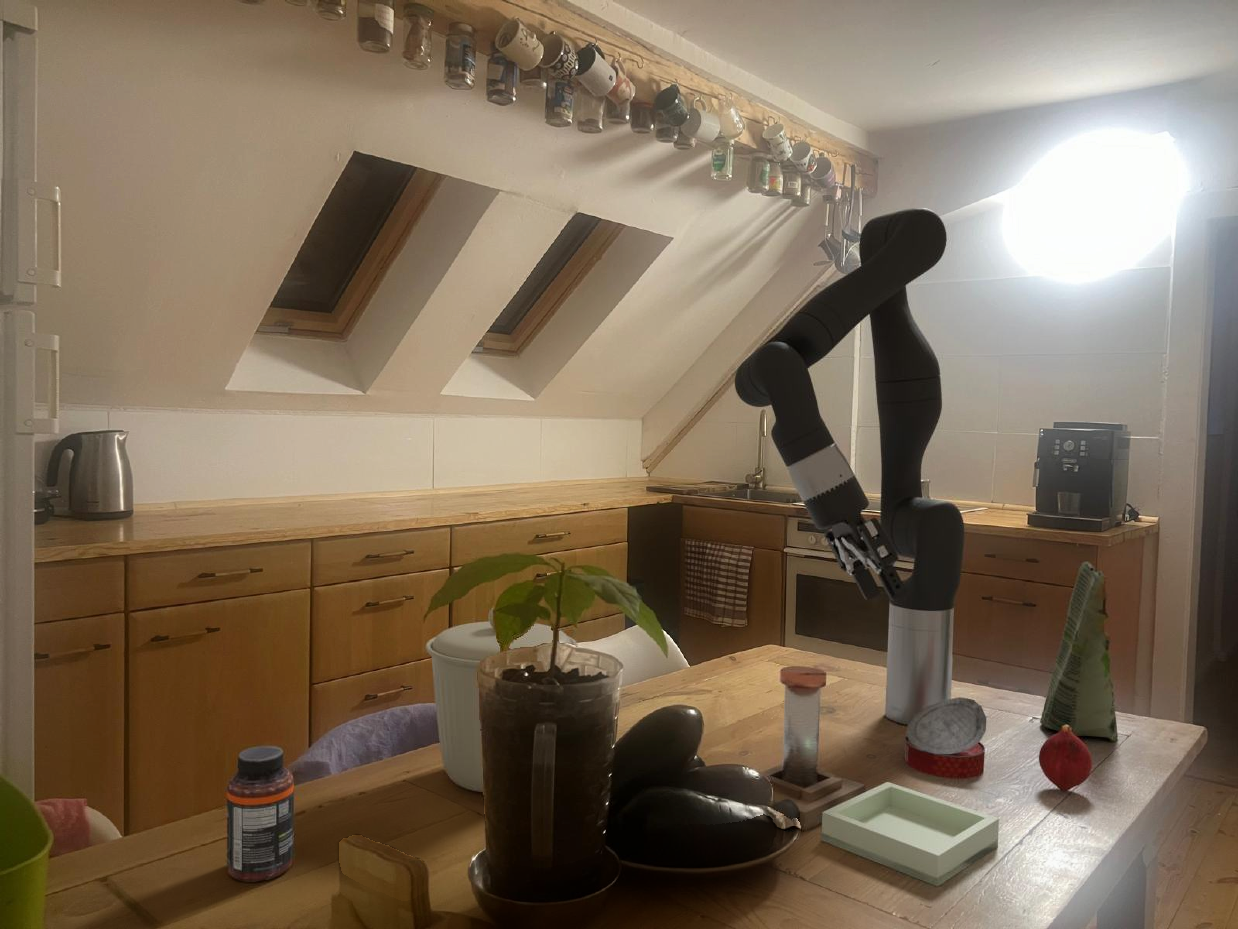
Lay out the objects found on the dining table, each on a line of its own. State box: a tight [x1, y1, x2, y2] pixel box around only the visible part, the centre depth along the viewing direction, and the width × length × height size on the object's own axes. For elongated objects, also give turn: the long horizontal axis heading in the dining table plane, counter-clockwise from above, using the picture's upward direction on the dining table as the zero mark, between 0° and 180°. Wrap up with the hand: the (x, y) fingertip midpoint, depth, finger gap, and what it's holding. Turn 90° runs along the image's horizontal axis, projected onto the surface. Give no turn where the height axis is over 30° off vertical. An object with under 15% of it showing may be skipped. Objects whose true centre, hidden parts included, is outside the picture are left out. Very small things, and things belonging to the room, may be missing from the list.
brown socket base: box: [760, 764, 866, 832], centre depth 107 cm, size 14×10×3 cm
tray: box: [821, 781, 1000, 887], centre depth 98 cm, size 13×13×3 cm
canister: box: [425, 606, 578, 793], centre depth 113 cm, size 18×18×21 cm
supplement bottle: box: [226, 745, 295, 882], centre depth 88 cm, size 6×6×11 cm
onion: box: [1038, 725, 1093, 792], centre depth 113 cm, size 6×6×8 cm
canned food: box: [903, 697, 987, 779], centre depth 122 cm, size 11×10×10 cm
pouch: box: [1039, 561, 1119, 742], centre depth 135 cm, size 11×12×25 cm
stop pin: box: [779, 665, 827, 788], centre depth 108 cm, size 5×5×13 cm
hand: (886, 597), depth 121 cm, fingers open, 8 cm apart
